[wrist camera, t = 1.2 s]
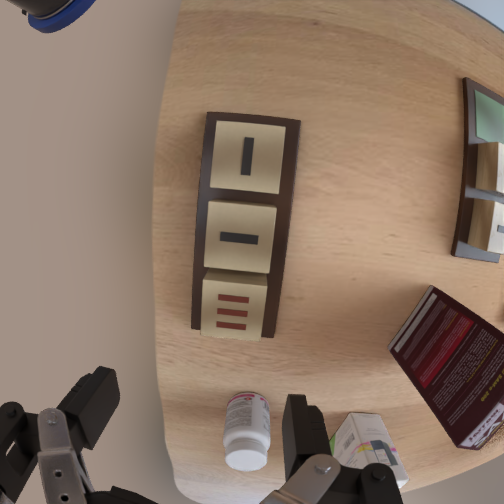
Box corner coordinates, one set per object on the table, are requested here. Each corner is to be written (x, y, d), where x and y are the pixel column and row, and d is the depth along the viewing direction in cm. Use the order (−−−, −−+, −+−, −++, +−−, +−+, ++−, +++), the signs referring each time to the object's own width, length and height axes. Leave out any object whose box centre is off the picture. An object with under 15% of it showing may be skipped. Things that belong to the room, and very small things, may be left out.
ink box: (350, 453, 33) (373, 534, 19) (320, 451, 33) (336, 539, 18) (381, 412, 31) (420, 499, 17) (350, 409, 31) (382, 506, 16)
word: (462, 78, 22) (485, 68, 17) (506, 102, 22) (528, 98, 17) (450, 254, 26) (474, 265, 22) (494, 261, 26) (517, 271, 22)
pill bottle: (221, 412, 31) (213, 466, 23) (236, 385, 30) (230, 442, 22) (258, 423, 31) (258, 477, 23) (276, 398, 30) (279, 454, 22)
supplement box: (411, 360, 29) (477, 453, 14) (385, 346, 29) (453, 450, 13) (454, 300, 27) (546, 370, 12) (431, 281, 27) (532, 353, 11)
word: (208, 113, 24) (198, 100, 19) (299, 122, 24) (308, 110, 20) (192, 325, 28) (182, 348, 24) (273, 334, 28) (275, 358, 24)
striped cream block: (209, 266, 26) (202, 279, 23) (266, 272, 26) (267, 286, 23) (206, 317, 27) (200, 336, 24) (260, 323, 27) (260, 342, 24)
